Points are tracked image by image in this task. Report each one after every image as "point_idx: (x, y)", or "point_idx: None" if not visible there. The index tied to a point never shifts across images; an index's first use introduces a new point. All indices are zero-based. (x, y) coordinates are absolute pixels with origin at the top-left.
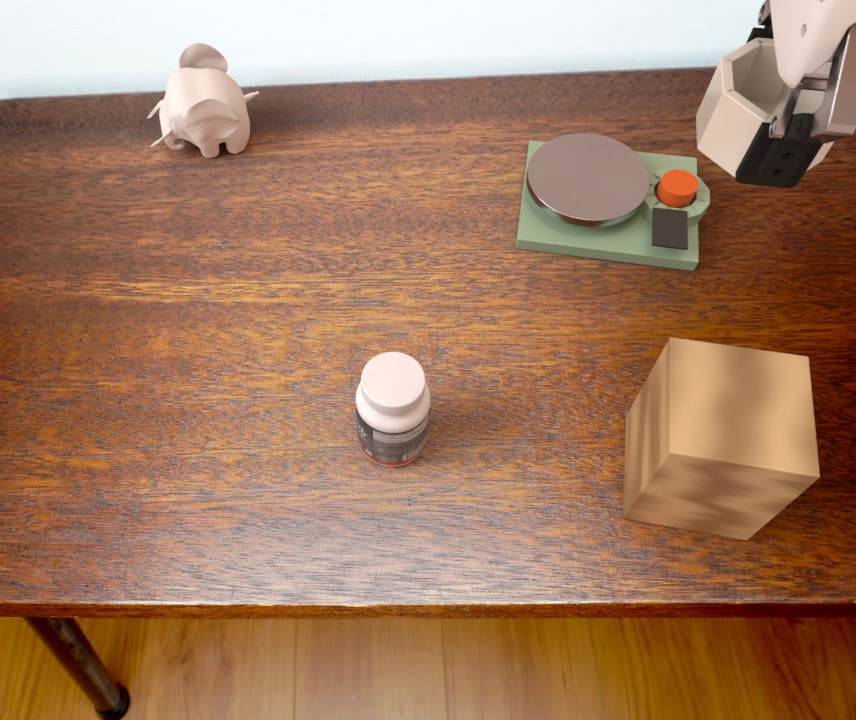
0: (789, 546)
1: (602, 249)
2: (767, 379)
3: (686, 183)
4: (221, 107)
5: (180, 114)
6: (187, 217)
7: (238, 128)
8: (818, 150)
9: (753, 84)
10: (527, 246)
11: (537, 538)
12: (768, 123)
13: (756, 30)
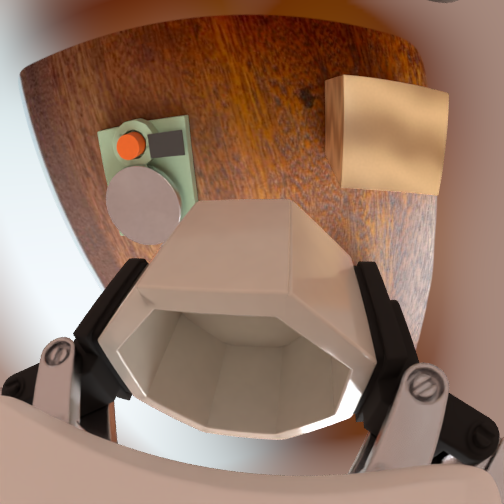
0: (397, 65)
1: (191, 181)
2: (374, 112)
3: (127, 142)
4: None
5: None
6: None
7: None
8: (398, 325)
9: (168, 325)
10: None
11: (408, 207)
12: (359, 416)
13: (121, 395)
